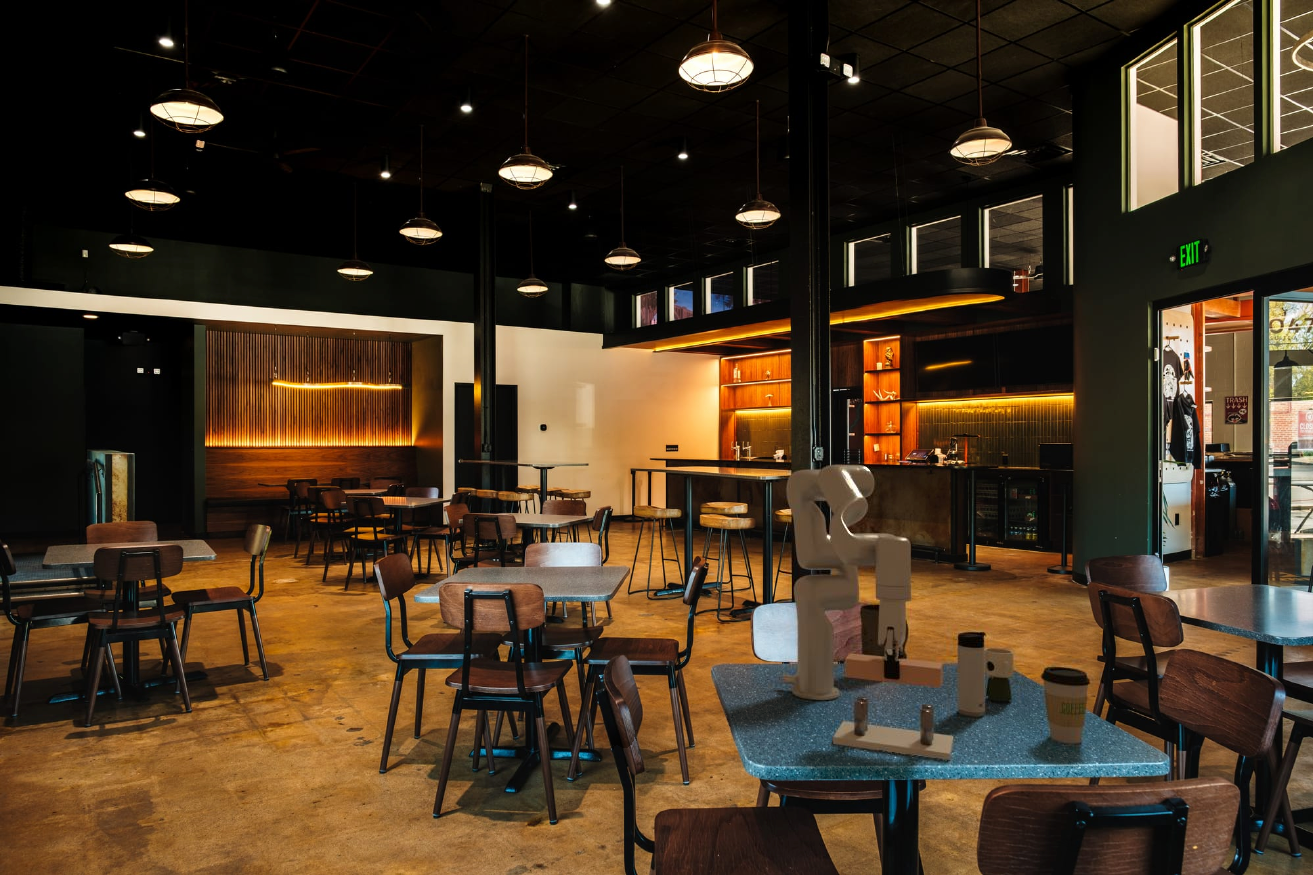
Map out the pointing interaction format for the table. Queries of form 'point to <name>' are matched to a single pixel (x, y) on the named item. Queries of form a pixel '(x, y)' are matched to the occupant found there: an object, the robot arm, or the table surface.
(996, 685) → the character mug
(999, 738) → the table surface
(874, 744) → the peg base
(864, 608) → the beer stein
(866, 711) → the steel pegs
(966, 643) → the travel mug
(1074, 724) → the coffee cup
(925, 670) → the shelf board
